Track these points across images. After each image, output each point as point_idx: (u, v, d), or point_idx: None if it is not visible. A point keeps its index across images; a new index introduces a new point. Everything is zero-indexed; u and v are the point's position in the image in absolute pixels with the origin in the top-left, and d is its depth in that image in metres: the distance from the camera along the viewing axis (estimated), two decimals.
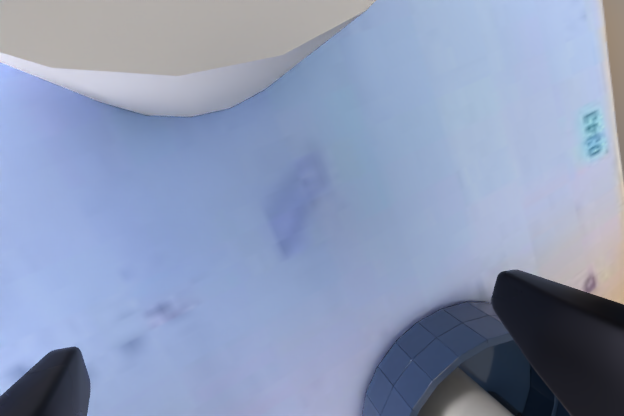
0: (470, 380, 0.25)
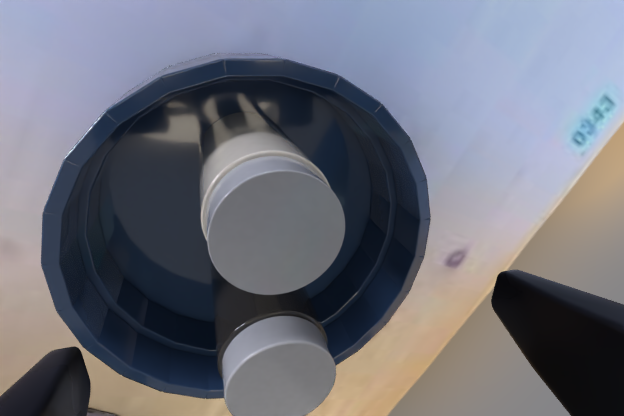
0: None
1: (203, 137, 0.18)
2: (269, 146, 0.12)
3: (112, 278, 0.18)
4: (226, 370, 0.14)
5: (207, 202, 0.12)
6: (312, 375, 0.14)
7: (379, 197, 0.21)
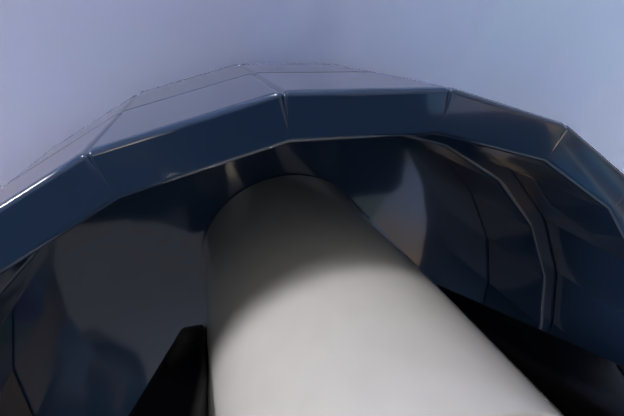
0: None
1: (212, 225, 0.09)
2: (437, 378, 0.04)
3: None
4: None
5: None
6: None
7: (508, 303, 0.12)
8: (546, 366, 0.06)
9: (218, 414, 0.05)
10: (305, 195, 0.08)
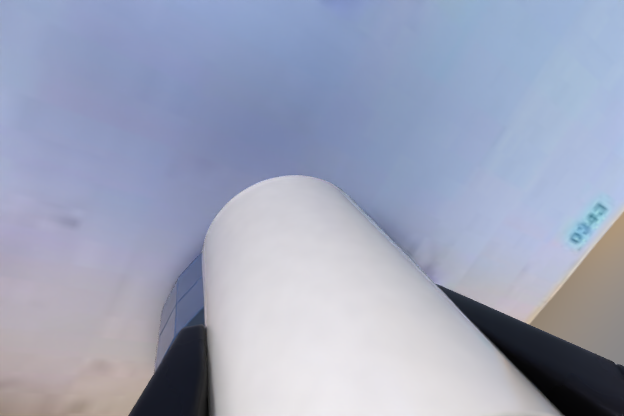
0: None
1: (212, 226, 0.09)
2: (437, 378, 0.04)
3: None
4: None
5: None
6: None
7: None
8: (546, 366, 0.06)
9: (218, 414, 0.05)
10: (305, 195, 0.08)
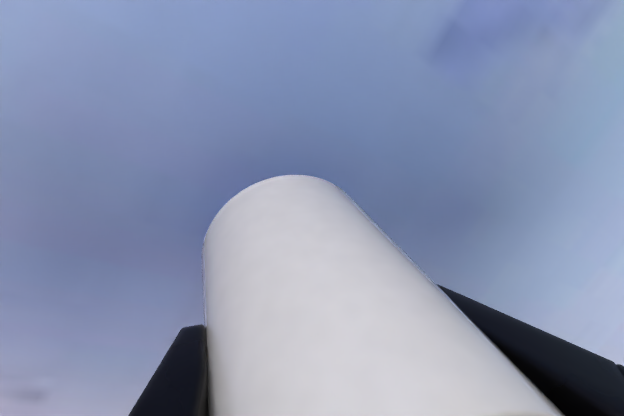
0: None
1: (212, 225, 0.09)
2: (437, 377, 0.04)
3: None
4: None
5: None
6: None
7: None
8: (546, 366, 0.06)
9: (218, 414, 0.05)
10: (305, 195, 0.08)
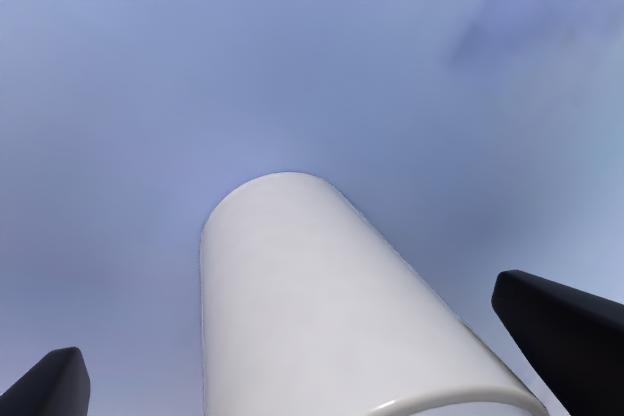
0: None
1: (208, 221, 0.10)
2: (410, 355, 0.04)
3: None
4: None
5: None
6: None
7: None
8: None
9: (212, 393, 0.05)
10: (298, 191, 0.09)
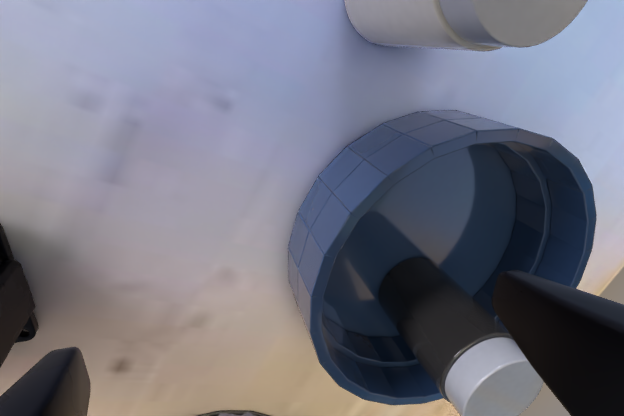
0: None
1: None
2: None
3: None
4: (463, 383, 0.17)
5: None
6: (527, 387, 0.17)
7: (526, 227, 0.24)
8: None
9: None
10: None
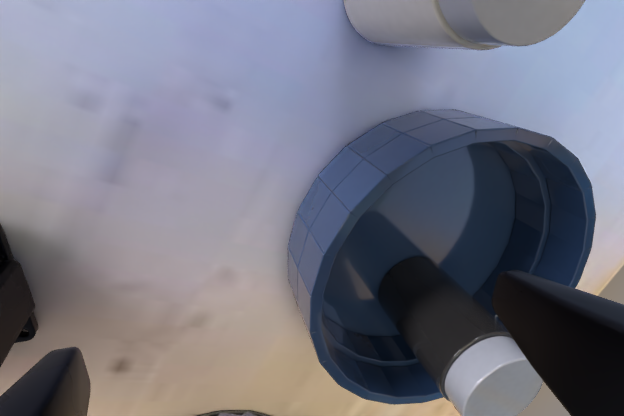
0: None
1: None
2: None
3: None
4: (463, 382, 0.17)
5: None
6: (526, 386, 0.17)
7: (526, 226, 0.24)
8: None
9: None
10: None
